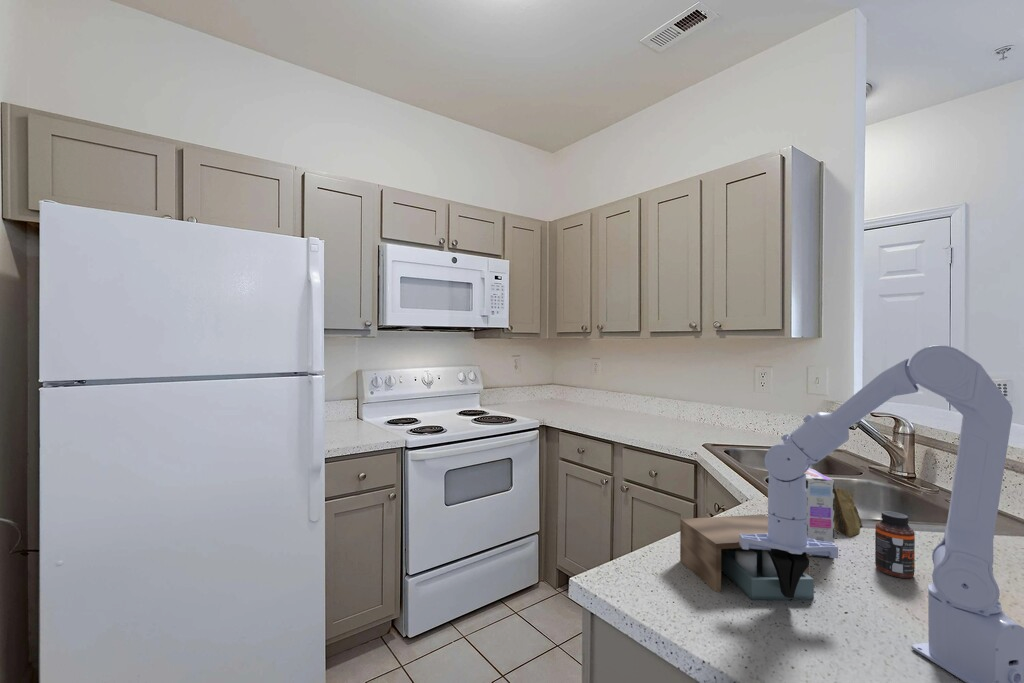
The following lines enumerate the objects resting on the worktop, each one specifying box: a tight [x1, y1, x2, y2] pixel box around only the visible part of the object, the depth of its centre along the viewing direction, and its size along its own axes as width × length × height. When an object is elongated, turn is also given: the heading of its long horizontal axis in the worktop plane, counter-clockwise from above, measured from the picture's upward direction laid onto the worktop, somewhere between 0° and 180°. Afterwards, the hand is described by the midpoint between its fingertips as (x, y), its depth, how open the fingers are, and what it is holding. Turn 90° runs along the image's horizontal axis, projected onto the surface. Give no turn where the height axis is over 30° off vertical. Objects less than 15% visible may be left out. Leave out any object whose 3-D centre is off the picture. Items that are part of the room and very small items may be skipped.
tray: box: [721, 548, 815, 601], centre depth 85 cm, size 12×11×5 cm
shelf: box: [679, 513, 810, 593], centre depth 89 cm, size 12×19×8 cm, turn 100°
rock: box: [834, 487, 863, 538], centre depth 111 cm, size 11×9×10 cm
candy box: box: [804, 466, 835, 559], centre depth 102 cm, size 14×6×16 cm, turn 168°
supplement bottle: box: [874, 510, 916, 579], centre depth 89 cm, size 6×6×11 cm
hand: (787, 594), depth 77 cm, fingers closed
